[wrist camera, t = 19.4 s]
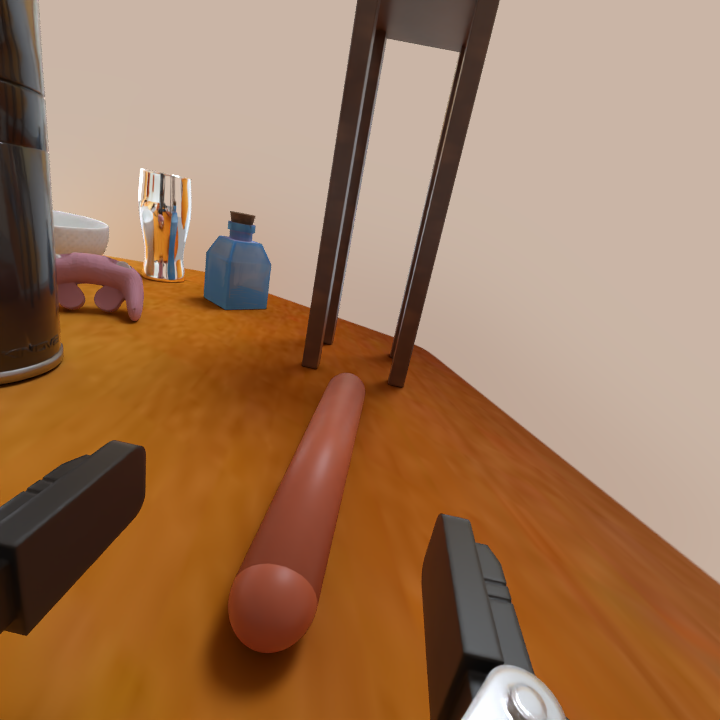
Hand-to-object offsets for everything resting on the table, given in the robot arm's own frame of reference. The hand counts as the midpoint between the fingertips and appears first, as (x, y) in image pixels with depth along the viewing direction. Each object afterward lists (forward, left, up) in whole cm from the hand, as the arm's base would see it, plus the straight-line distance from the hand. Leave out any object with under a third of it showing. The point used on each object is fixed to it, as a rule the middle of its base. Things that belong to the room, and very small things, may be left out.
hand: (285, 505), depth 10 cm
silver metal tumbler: (-33, +51, -7) cm, 61 cm away
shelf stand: (0, +32, -7) cm, 32 cm away
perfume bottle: (-19, +45, -7) cm, 49 cm away
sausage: (0, +10, -7) cm, 12 cm away
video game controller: (-28, +29, -7) cm, 41 cm away
